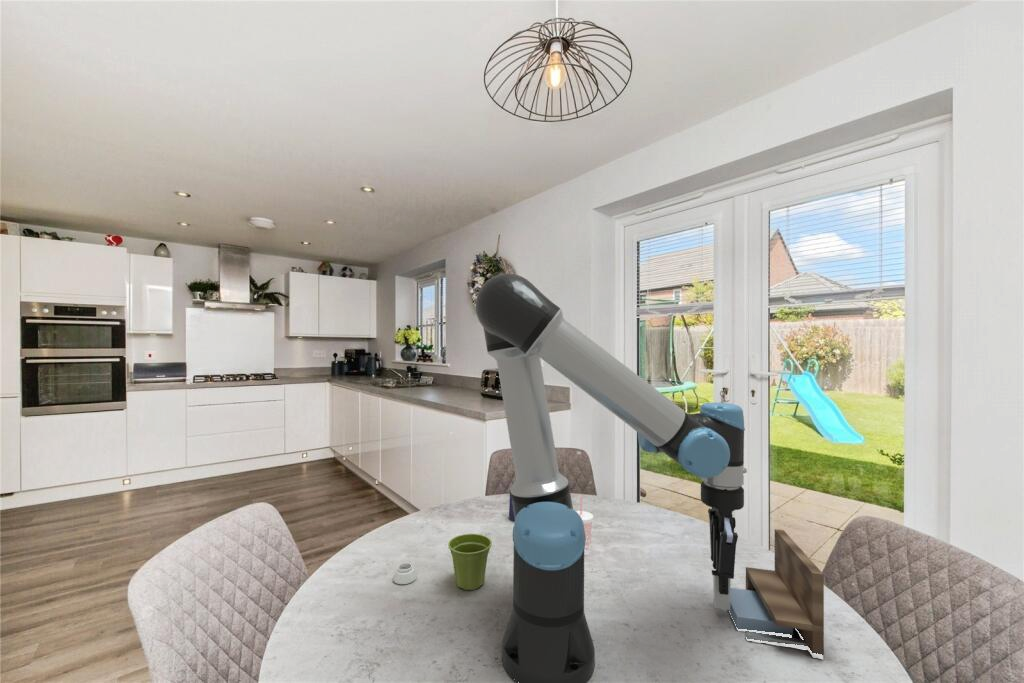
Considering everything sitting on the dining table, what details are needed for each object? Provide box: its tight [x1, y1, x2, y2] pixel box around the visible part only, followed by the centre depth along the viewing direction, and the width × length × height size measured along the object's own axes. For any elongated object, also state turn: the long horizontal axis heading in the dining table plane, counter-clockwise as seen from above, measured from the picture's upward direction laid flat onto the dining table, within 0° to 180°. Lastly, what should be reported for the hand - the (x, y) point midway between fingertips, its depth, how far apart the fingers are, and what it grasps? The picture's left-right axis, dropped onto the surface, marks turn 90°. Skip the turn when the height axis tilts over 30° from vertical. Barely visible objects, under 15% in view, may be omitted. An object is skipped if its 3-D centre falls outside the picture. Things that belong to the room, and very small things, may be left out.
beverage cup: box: [575, 494, 594, 557], centre depth 108 cm, size 6×6×14 cm
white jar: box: [392, 562, 418, 585], centre depth 94 cm, size 5×3×5 cm
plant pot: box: [447, 533, 493, 591], centre depth 93 cm, size 9×9×9 cm
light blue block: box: [729, 587, 794, 636], centre depth 82 cm, size 10×9×3 cm
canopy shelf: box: [744, 528, 825, 656], centre depth 81 cm, size 18×11×14 cm, turn 166°
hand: (721, 607), depth 83 cm, fingers closed
